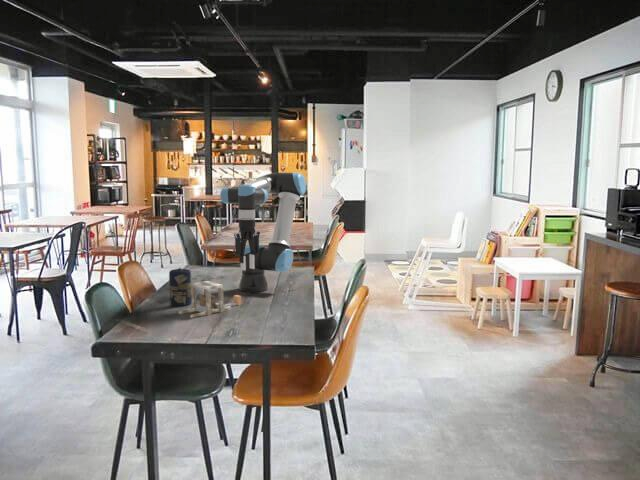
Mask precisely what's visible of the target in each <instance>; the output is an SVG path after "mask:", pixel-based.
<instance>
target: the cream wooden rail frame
mask: <svg viewBox="0 0 640 480" xmlns="http://www.w3.org/2000/svg"><path fill="white" fill-rule="evenodd" d="M197 288H198V289H203V295H206V312H197V311H196V305H197V304H198V303H197V301H198V300H197ZM213 289H217V291H218V293H217V294H218V295H217V296H218V302H215V304H219V309H215V310H211V295H212V290H213ZM224 301H225V300H224V284H221V283H217V282H214V281H208V280H204V281H198V282H191V308H188V309H183V310H182V309H181V310H179V311H178V315H182V314H187V313H192V312H195V313H193V314H189V316H190V318H191V319H192V318H197V317H202V316H211V315H212V314H215V313H216V314H217V313H224V312H225V311H229V310H232V306H229V307H224V305H225V303H224ZM196 312H197V313H196Z"/></svg>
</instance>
